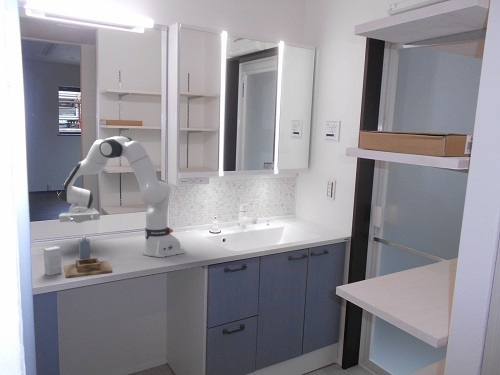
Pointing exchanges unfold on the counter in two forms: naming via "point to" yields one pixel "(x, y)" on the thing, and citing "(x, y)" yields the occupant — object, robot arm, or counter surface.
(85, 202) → the robot arm
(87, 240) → the soap bottle
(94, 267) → the bottle caddy
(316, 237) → the counter surface
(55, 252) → the skincare box
